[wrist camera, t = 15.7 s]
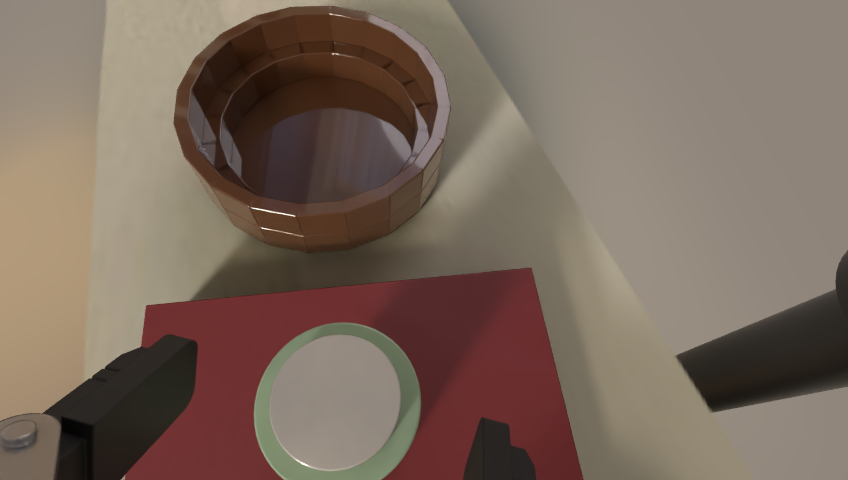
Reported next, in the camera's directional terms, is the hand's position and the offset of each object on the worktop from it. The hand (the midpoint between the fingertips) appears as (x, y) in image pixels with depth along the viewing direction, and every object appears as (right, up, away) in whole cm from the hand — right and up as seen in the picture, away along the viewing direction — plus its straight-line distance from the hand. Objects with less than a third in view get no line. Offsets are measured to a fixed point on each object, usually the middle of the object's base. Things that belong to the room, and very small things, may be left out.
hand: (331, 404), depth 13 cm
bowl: (-4, +11, +19) cm, 22 cm away
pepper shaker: (-1, -4, +9) cm, 10 cm away
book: (-1, -5, +12) cm, 13 cm away
